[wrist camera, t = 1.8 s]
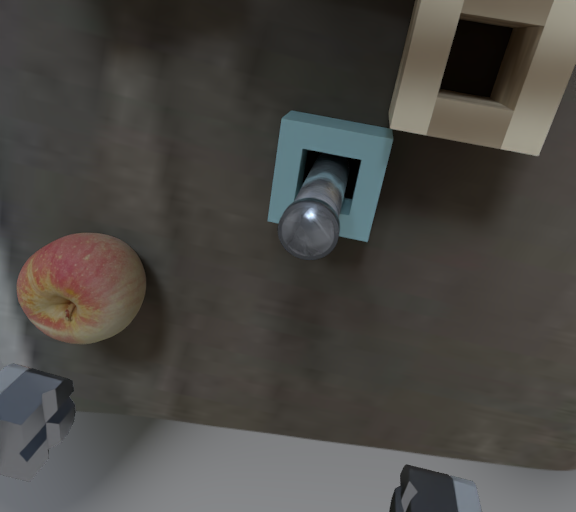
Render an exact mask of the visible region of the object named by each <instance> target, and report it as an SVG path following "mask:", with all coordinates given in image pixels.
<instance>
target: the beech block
mask: <svg viewBox="0 0 576 512" xmlns="http://www.w3.org/2000/svg"><path fill="white" fill-rule="evenodd" d="M459 19H460V20H466V21H472V22H478V23H485V24H491V25H497V26H503V27H510V28H513V30H512V33H511V36H510V39H509V42H508V45H507V48H506V51H505V54H504V57H503V60H502V63H501V66H500V69H499V72H498V75H497V78H496V81H495V84H494V87H493V90H492V93H491V96H490V97H484V96H478V95H473V94H467V93H461V92H455V91H450V90H444V89H439V88H440V85H441V81H442V77H443V74H444V70H445V67H446V63H447V60H448V56H449V53H450V49H451V46H452V42H453V38H454V35H455V31H456V28H457V24H458V21H459ZM575 64H576V0H415V4H414V8H413V12H412V16H411V20H410V24H409V29H408V33H407V37H406V41H405V45H404V50H403V54H402V58H401V62H400V66H399V70H398V75H397V79H396V83H395V87H394V91H393V95H392V100H391V104H390V108H389V112H388V114H389V124H390V129H394V130H400V131H405V132H411V133H416V134H421V135H427V136H432V137H438V138H443V139H448V140H454V141H459V142H465V143H470V144H475V145H481V146H486V147H492V148H497V149H502V150H508V151H513V152H519V153H524V154H529V155H535V156H539V154H540V151H541V149H542V146H543V144H544V141H545V139H546V136H547V134H548V131H549V129H550V126H551V124H552V121H553V119H554V116H555V114H556V111H557V109H558V106H559V104H560V101H561V99H562V96H563V94H564V91H565V89H566V86H567V84H568V81H569V79H570V76H571V74H572V71H573V69H574V66H575Z"/></svg>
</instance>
